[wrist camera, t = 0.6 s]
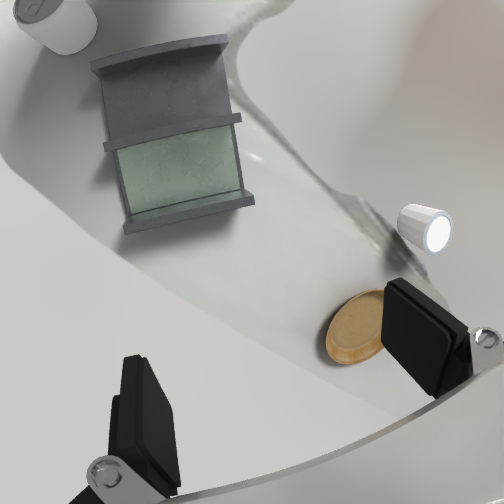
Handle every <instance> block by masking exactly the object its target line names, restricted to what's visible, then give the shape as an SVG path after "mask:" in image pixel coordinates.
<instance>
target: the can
mask: <svg viewBox="0 0 504 504" xmlns="http://www.w3.org/2000/svg"><path fill="white" fill-rule="evenodd" d="M13 14H14V17H15V19H16V21H17V24H18V26H19V27H20V28H21V29H22V30H23V31H24V32H26V33H27V34H29V35H30V36H32V37H33V38H35V39H36V40H38V41H39V42H40V43H42V44H43V45H45V46H46V47H48V48H49V49H51V50H52V51H54V52H56V53H58V54H61V55H70V54H74V53H77V52H79V51H80V50H82V49H84V48H85V47H86V46H87V45H88V44H89V43H90V42H91V41H92V39H93V38H94V36H95V34H96V31H97V26H98V23H97V19H96V16H95V14H94V13H93V11H92V9H91V8H90V6H89V5H88V3H87V1H86V0H16V1H15V3H14V8H13Z"/></svg>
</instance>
